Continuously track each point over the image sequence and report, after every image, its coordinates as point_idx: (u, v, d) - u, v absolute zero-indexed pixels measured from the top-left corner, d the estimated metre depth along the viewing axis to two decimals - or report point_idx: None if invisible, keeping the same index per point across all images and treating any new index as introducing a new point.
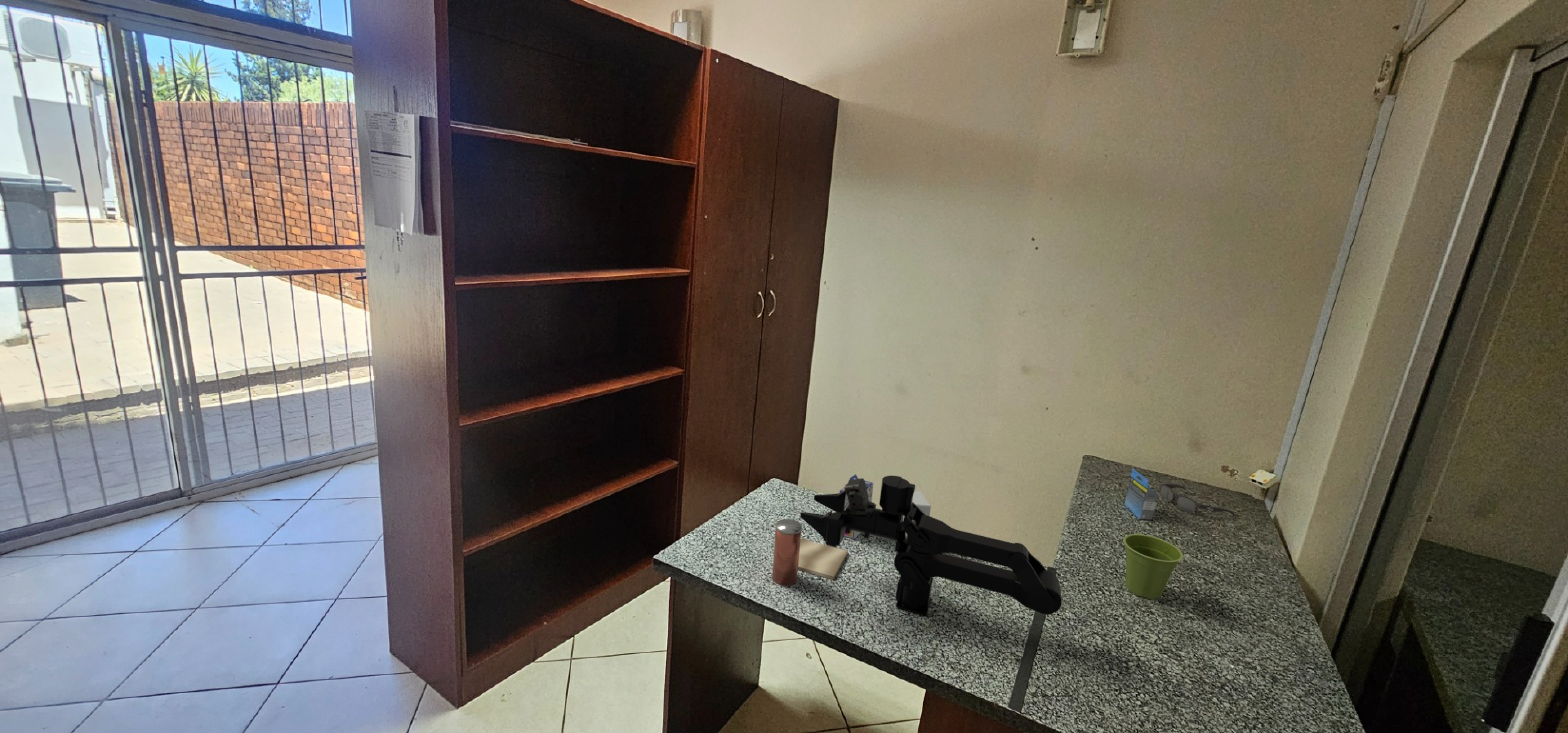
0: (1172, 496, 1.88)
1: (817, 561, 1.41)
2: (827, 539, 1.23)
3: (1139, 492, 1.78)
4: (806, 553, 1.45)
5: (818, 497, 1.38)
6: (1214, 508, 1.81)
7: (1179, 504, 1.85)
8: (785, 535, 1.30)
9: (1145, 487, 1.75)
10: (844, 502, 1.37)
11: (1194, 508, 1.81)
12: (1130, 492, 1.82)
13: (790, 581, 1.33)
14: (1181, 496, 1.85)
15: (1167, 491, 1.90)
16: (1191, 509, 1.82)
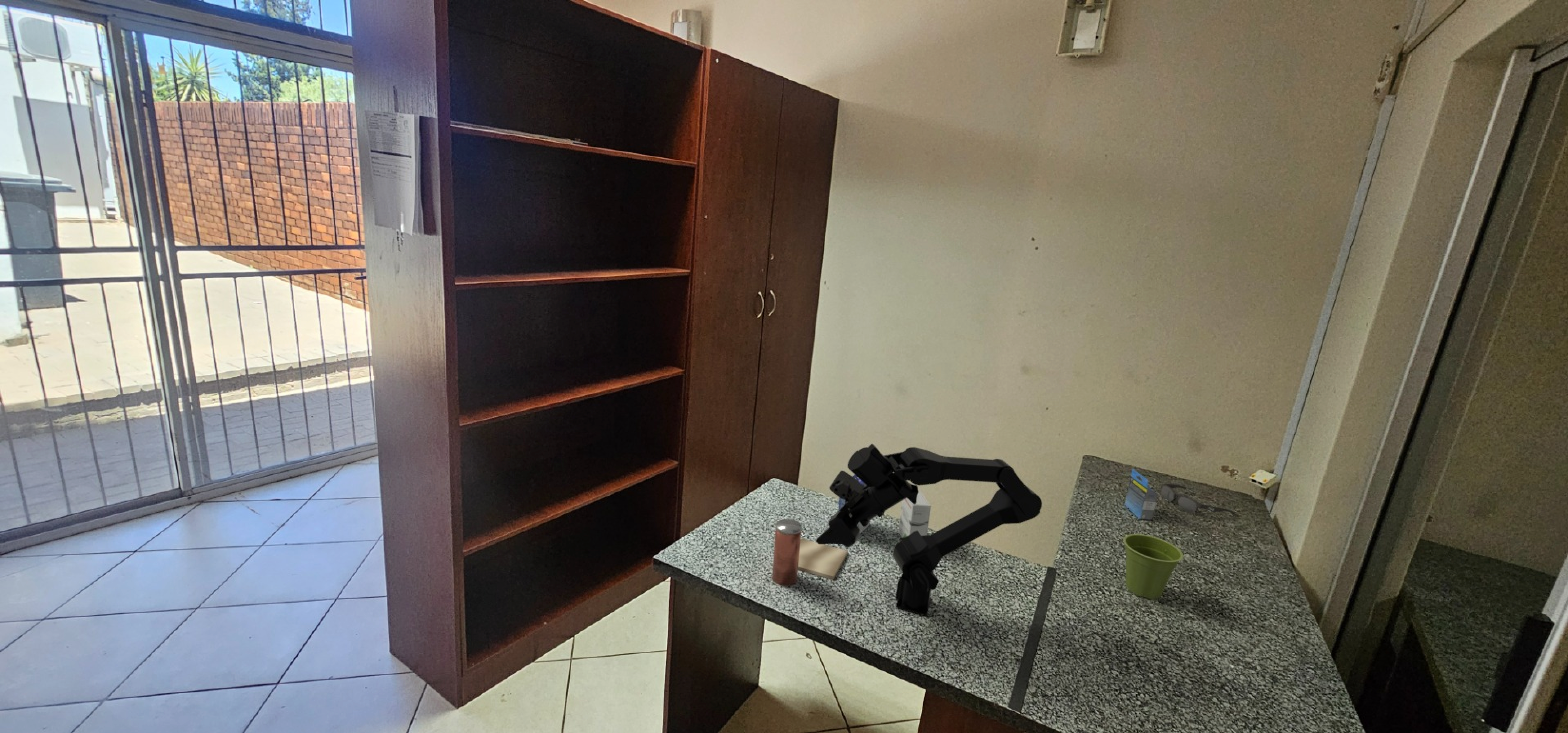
0: (1173, 496, 1.88)
1: (817, 561, 1.41)
2: (842, 541, 1.18)
3: (1139, 492, 1.78)
4: (806, 553, 1.45)
5: None
6: (1215, 508, 1.81)
7: (1180, 504, 1.86)
8: (785, 535, 1.30)
9: (1145, 487, 1.75)
10: None
11: (1195, 508, 1.82)
12: (1130, 492, 1.82)
13: (790, 581, 1.33)
14: (1182, 496, 1.85)
15: (1168, 491, 1.90)
16: (1192, 509, 1.82)
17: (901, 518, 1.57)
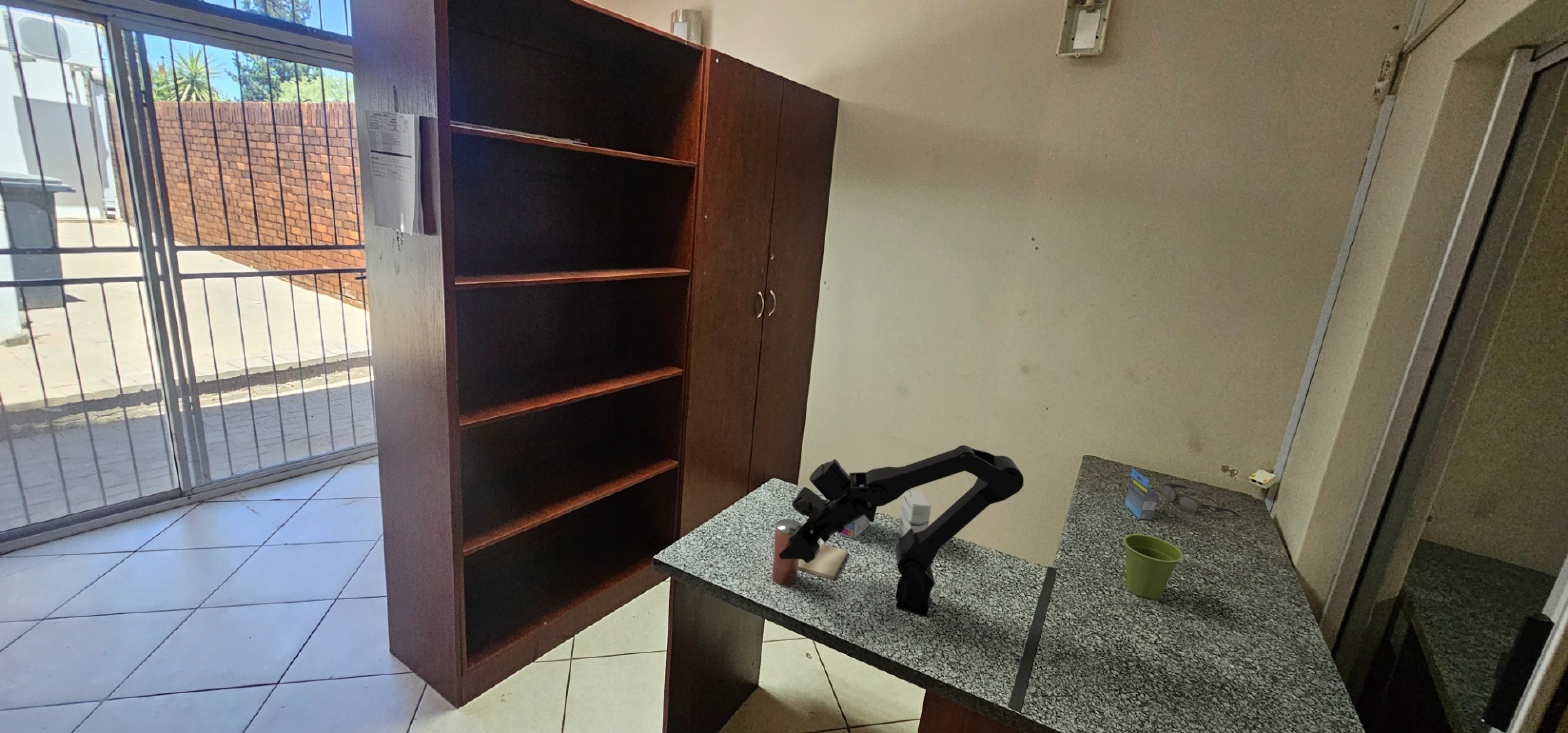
0: (1174, 496, 1.88)
1: (817, 561, 1.41)
2: (802, 557, 1.22)
3: (1139, 492, 1.78)
4: None
5: None
6: (1216, 508, 1.81)
7: (1181, 504, 1.86)
8: (785, 535, 1.30)
9: (1145, 487, 1.75)
10: None
11: (1196, 508, 1.82)
12: (1130, 492, 1.82)
13: (790, 581, 1.33)
14: (1183, 496, 1.85)
15: (1170, 491, 1.90)
16: (1193, 509, 1.82)
17: (901, 518, 1.57)
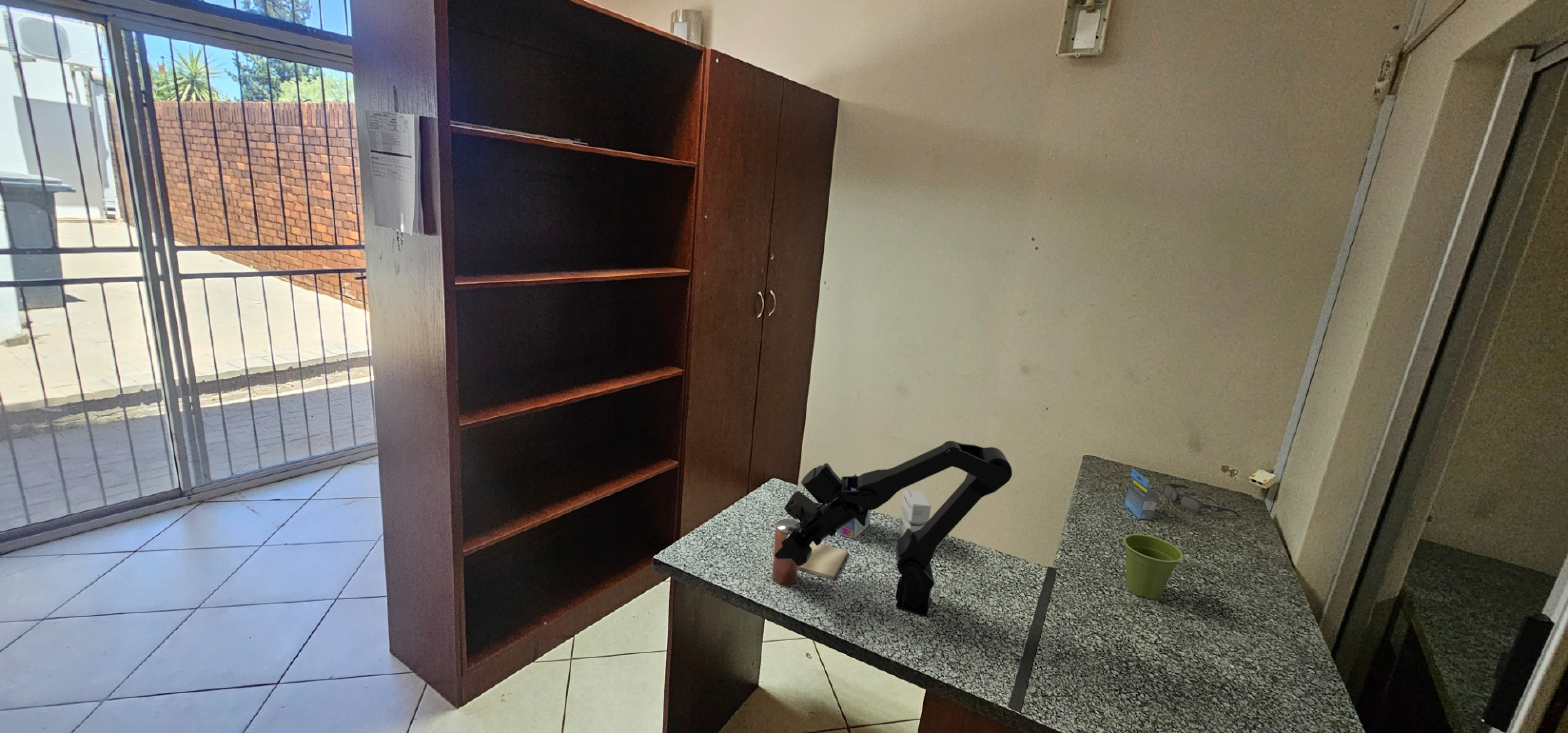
0: (1176, 496, 1.88)
1: (817, 561, 1.41)
2: (794, 560, 1.23)
3: (1139, 492, 1.78)
4: None
5: None
6: (1218, 508, 1.81)
7: (1183, 504, 1.86)
8: (785, 535, 1.30)
9: (1145, 487, 1.75)
10: None
11: (1198, 508, 1.82)
12: (1130, 492, 1.82)
13: (790, 581, 1.33)
14: (1185, 496, 1.85)
15: (1171, 491, 1.90)
16: (1195, 509, 1.83)
17: (901, 518, 1.57)
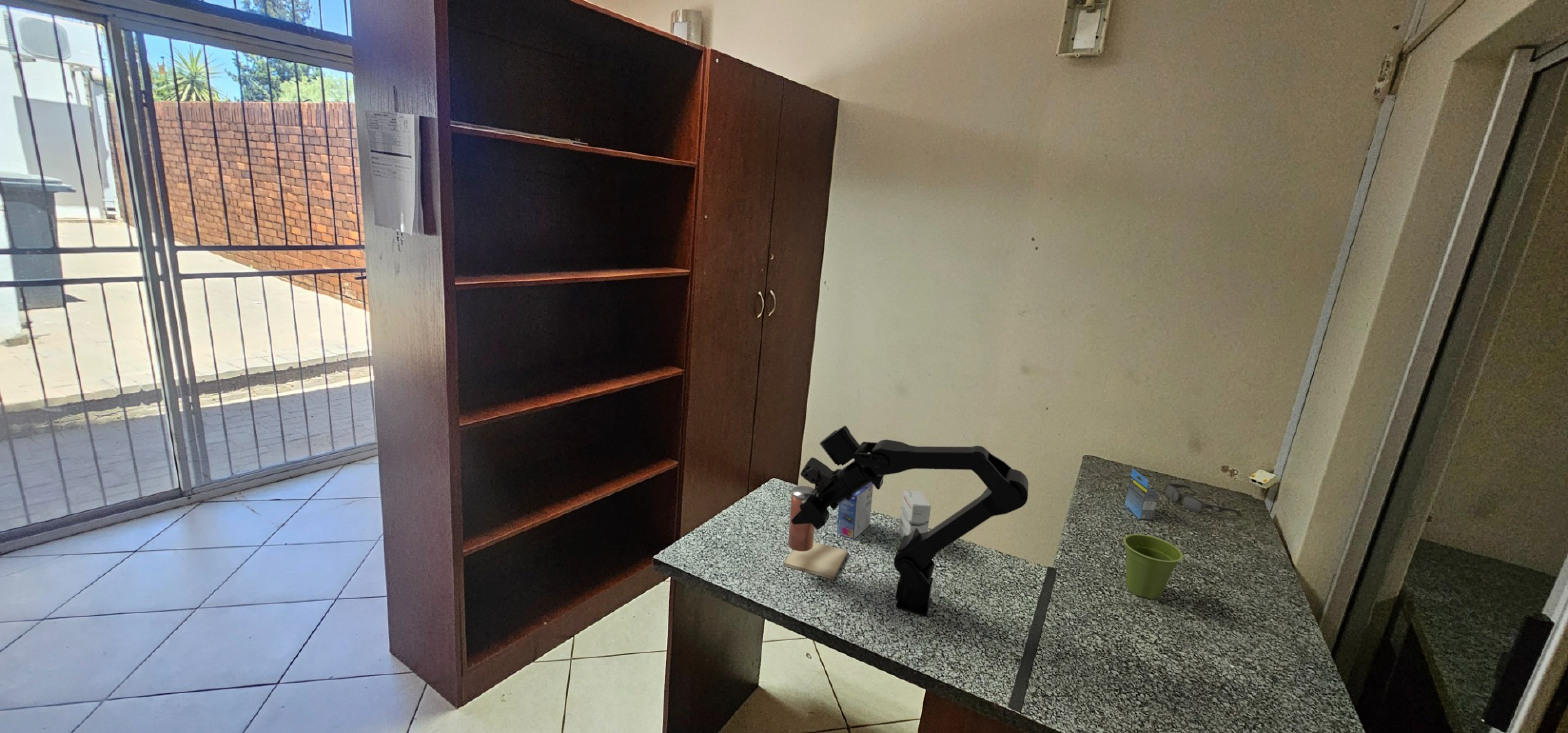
0: (1178, 496, 1.88)
1: (817, 561, 1.41)
2: (813, 523, 1.24)
3: (1139, 492, 1.78)
4: (806, 553, 1.45)
5: None
6: (1220, 508, 1.81)
7: (1185, 504, 1.86)
8: (801, 501, 1.31)
9: (1145, 487, 1.75)
10: None
11: (1200, 508, 1.82)
12: (1130, 492, 1.82)
13: (806, 547, 1.34)
14: (1187, 496, 1.85)
15: (1173, 491, 1.90)
16: (1197, 509, 1.83)
17: (901, 518, 1.57)
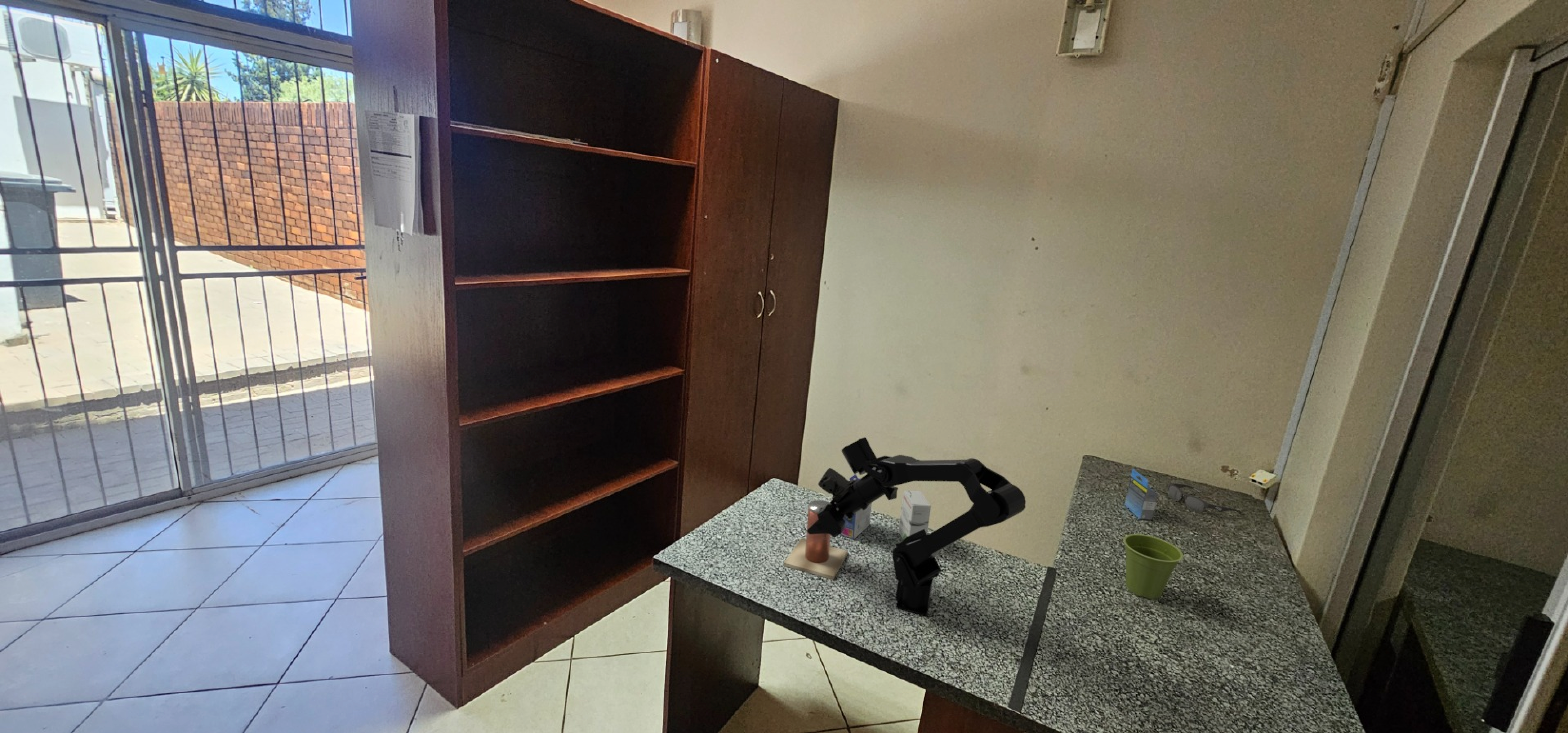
0: (1180, 496, 1.89)
1: None
2: (829, 531, 1.30)
3: (1139, 492, 1.78)
4: None
5: None
6: (1222, 508, 1.82)
7: (1187, 504, 1.86)
8: None
9: (1145, 487, 1.75)
10: None
11: (1202, 508, 1.82)
12: (1130, 492, 1.82)
13: (823, 558, 1.41)
14: (1189, 496, 1.86)
15: (1175, 491, 1.90)
16: (1199, 509, 1.83)
17: (901, 518, 1.57)
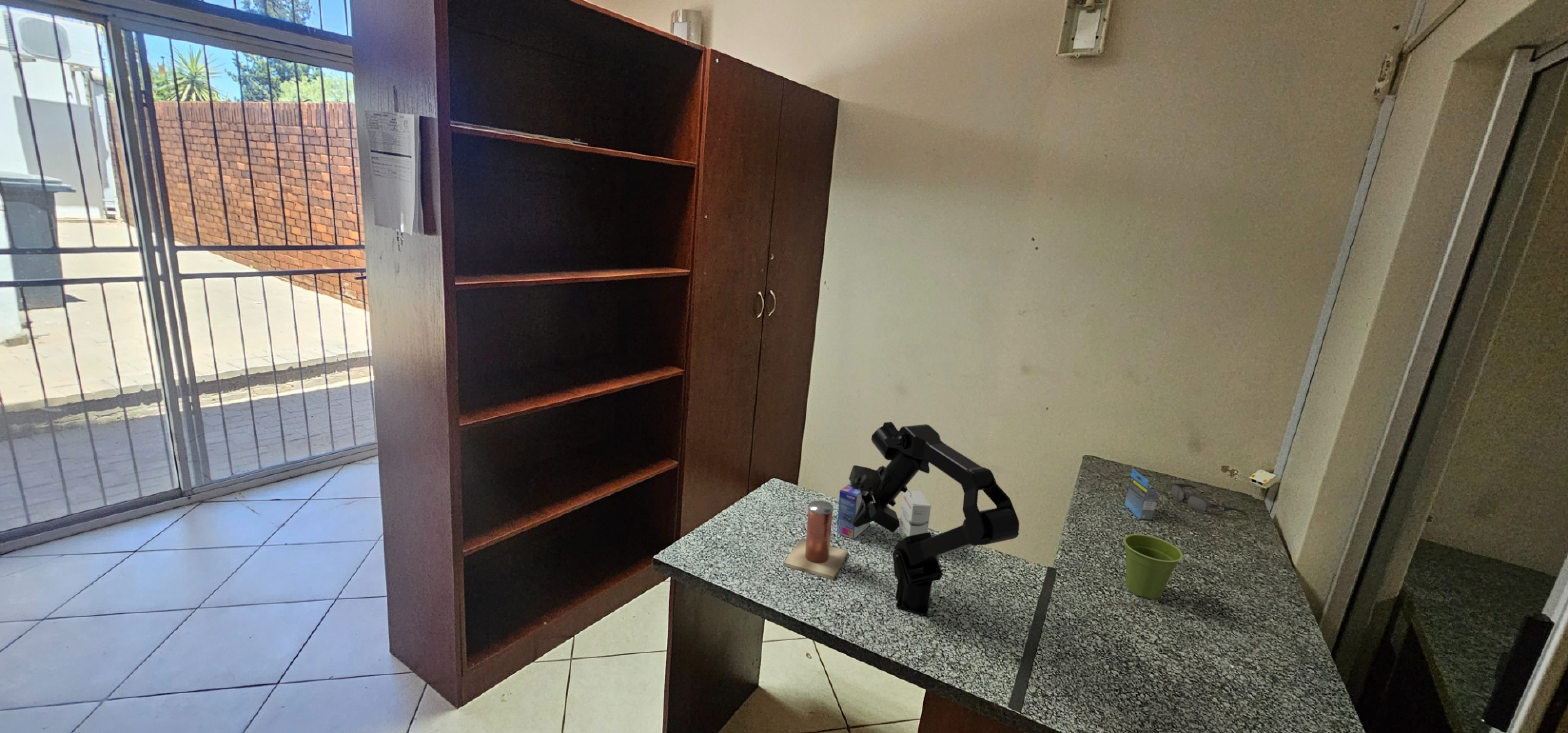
0: (1183, 495, 1.89)
1: None
2: (889, 529, 1.24)
3: (1139, 492, 1.78)
4: None
5: None
6: (1225, 507, 1.82)
7: (1190, 503, 1.86)
8: (818, 515, 1.38)
9: (1145, 487, 1.75)
10: (872, 500, 1.34)
11: (1205, 507, 1.82)
12: (1130, 492, 1.82)
13: (823, 559, 1.41)
14: (1192, 495, 1.86)
15: (1178, 490, 1.91)
16: (1202, 508, 1.83)
17: (901, 518, 1.57)
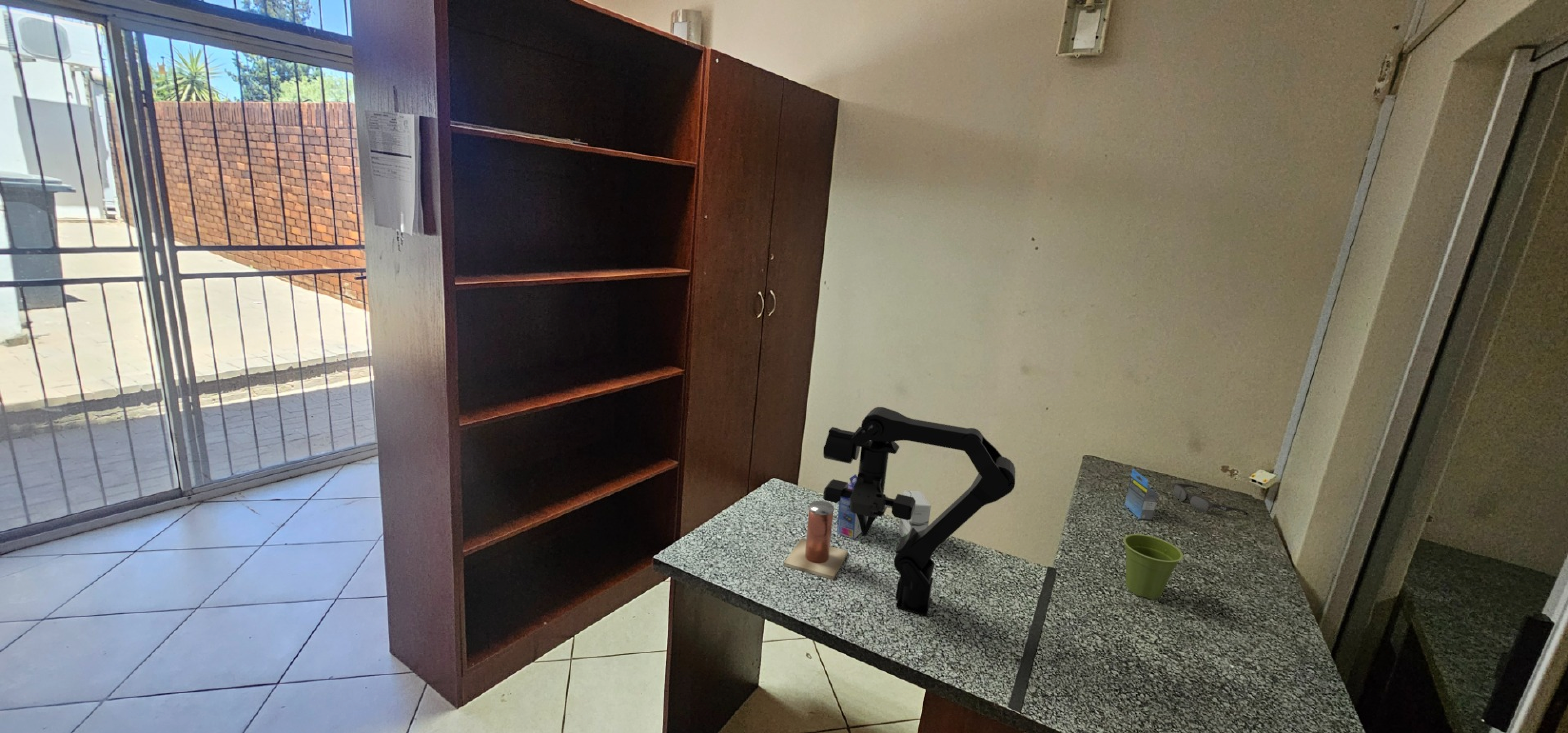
0: (1185, 495, 1.89)
1: None
2: (913, 510, 1.27)
3: (1139, 492, 1.78)
4: None
5: None
6: (1227, 507, 1.82)
7: (1192, 503, 1.87)
8: (819, 516, 1.38)
9: (1145, 487, 1.75)
10: None
11: (1207, 507, 1.83)
12: (1130, 492, 1.82)
13: (823, 559, 1.41)
14: (1194, 495, 1.86)
15: (1180, 490, 1.91)
16: (1204, 508, 1.83)
17: None
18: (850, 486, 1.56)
